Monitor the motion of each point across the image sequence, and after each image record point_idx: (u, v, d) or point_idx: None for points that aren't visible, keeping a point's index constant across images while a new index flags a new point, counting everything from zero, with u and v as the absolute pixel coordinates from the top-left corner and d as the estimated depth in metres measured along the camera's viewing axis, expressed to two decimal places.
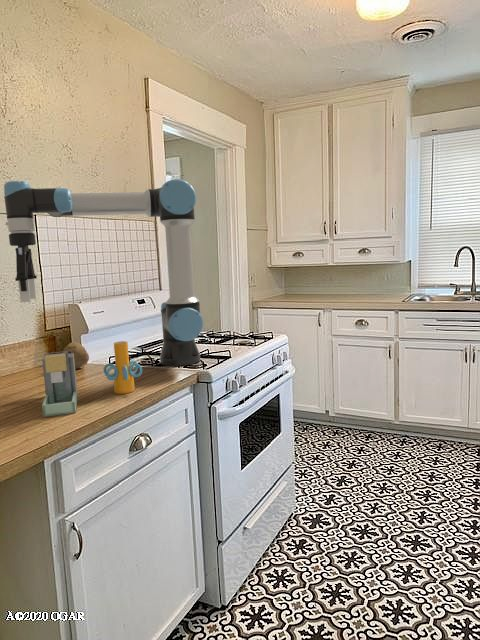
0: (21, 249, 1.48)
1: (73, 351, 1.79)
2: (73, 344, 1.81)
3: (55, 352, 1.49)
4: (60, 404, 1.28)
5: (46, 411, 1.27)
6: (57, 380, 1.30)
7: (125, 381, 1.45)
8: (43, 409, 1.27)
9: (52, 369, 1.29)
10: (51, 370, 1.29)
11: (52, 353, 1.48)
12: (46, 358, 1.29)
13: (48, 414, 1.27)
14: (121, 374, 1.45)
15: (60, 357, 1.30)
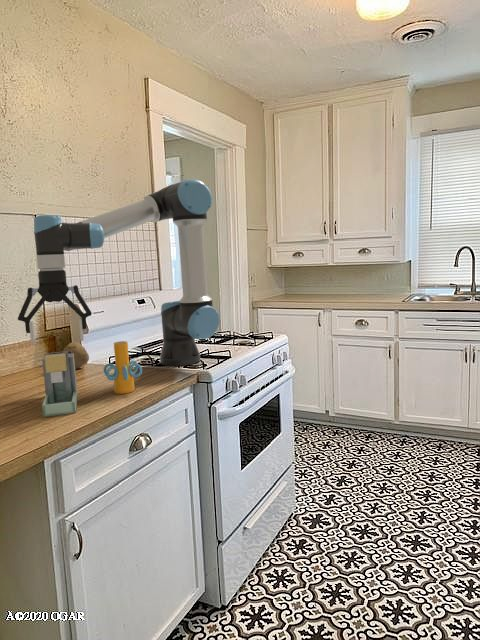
0: (28, 289, 1.41)
1: (73, 351, 1.79)
2: (73, 344, 1.81)
3: (55, 352, 1.49)
4: (60, 404, 1.28)
5: (46, 411, 1.27)
6: (57, 380, 1.30)
7: (125, 381, 1.45)
8: (43, 409, 1.27)
9: (52, 369, 1.29)
10: (51, 370, 1.29)
11: (52, 353, 1.48)
12: (46, 358, 1.29)
13: (48, 414, 1.27)
14: (121, 374, 1.45)
15: (60, 357, 1.30)
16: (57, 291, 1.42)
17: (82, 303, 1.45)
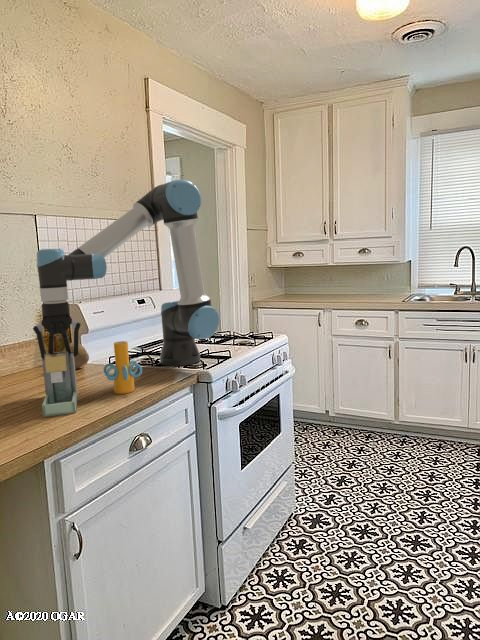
0: None
1: (73, 351, 1.79)
2: (73, 344, 1.81)
3: (55, 352, 1.49)
4: (60, 404, 1.28)
5: (46, 411, 1.27)
6: (57, 380, 1.30)
7: (125, 381, 1.45)
8: (43, 409, 1.27)
9: (52, 369, 1.29)
10: (51, 370, 1.29)
11: None
12: (46, 358, 1.29)
13: (48, 414, 1.27)
14: (121, 374, 1.45)
15: (60, 357, 1.30)
16: (61, 323, 1.43)
17: (75, 341, 1.46)
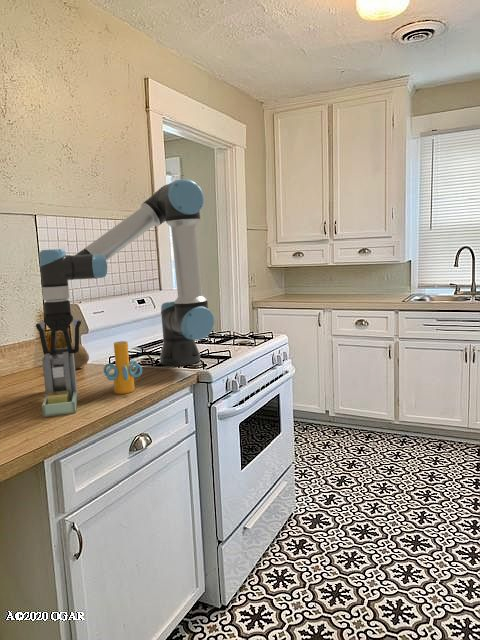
0: (36, 326, 1.49)
1: None
2: (73, 344, 1.81)
3: (57, 349, 1.55)
4: (60, 404, 1.28)
5: (46, 411, 1.27)
6: (59, 375, 1.35)
7: (125, 381, 1.45)
8: (43, 409, 1.27)
9: None
10: None
11: None
12: (48, 396, 1.30)
13: (48, 414, 1.27)
14: (121, 374, 1.45)
15: (62, 395, 1.31)
16: (62, 321, 1.49)
17: (76, 338, 1.52)
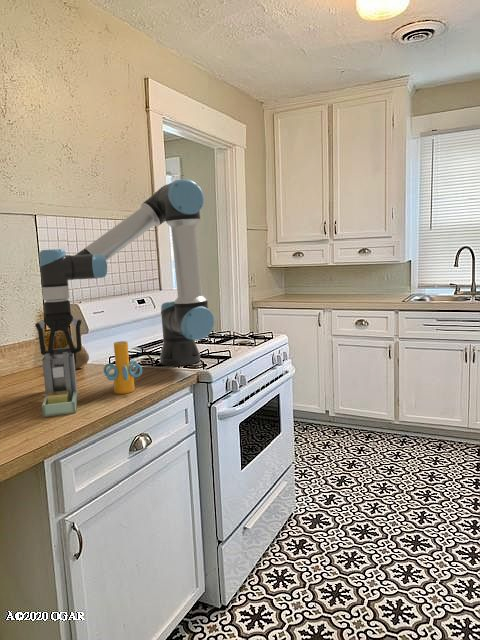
0: (35, 325, 1.49)
1: None
2: None
3: (57, 349, 1.55)
4: (60, 404, 1.28)
5: (46, 411, 1.27)
6: (59, 375, 1.35)
7: (125, 381, 1.45)
8: (43, 409, 1.27)
9: None
10: None
11: (54, 350, 1.54)
12: (48, 396, 1.30)
13: (48, 414, 1.27)
14: (121, 374, 1.45)
15: (62, 395, 1.31)
16: (62, 321, 1.49)
17: (77, 337, 1.52)
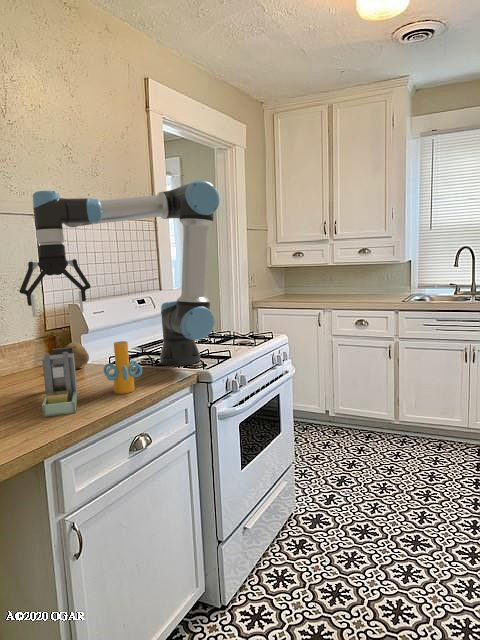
0: None
1: (73, 351, 1.79)
2: (73, 344, 1.81)
3: (57, 349, 1.55)
4: (60, 404, 1.28)
5: (46, 411, 1.27)
6: (59, 375, 1.35)
7: (125, 381, 1.45)
8: (43, 409, 1.27)
9: None
10: None
11: (54, 350, 1.54)
12: (48, 396, 1.30)
13: (48, 414, 1.27)
14: (121, 374, 1.45)
15: (62, 395, 1.31)
16: (57, 264, 1.47)
17: (81, 276, 1.50)
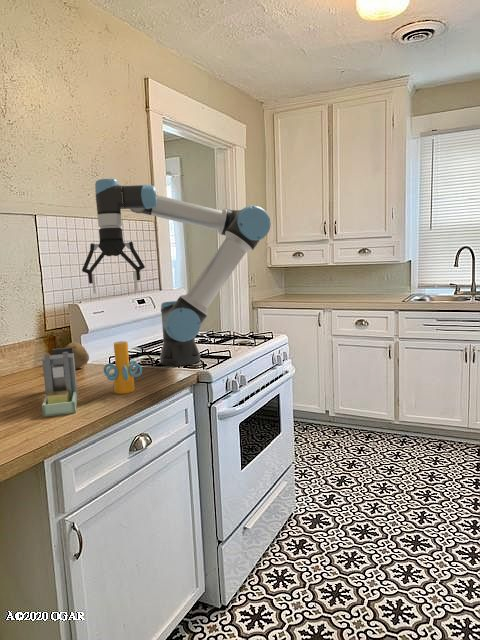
0: (90, 245, 1.61)
1: (73, 351, 1.79)
2: (73, 344, 1.81)
3: (57, 349, 1.55)
4: (60, 404, 1.28)
5: (46, 411, 1.27)
6: (59, 375, 1.35)
7: (125, 381, 1.45)
8: (43, 409, 1.27)
9: None
10: None
11: (54, 350, 1.54)
12: (48, 396, 1.30)
13: (48, 414, 1.27)
14: (121, 374, 1.45)
15: (62, 395, 1.31)
16: (115, 246, 1.62)
17: (137, 257, 1.65)
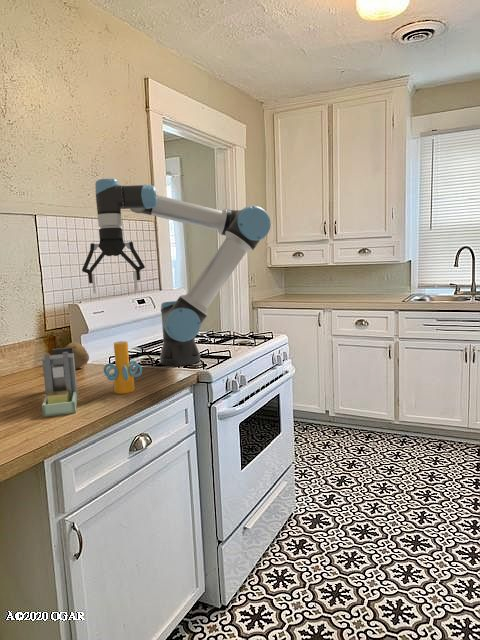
0: None
1: (73, 351, 1.79)
2: (73, 344, 1.81)
3: (57, 349, 1.55)
4: (60, 404, 1.28)
5: (46, 411, 1.27)
6: (59, 375, 1.35)
7: (125, 381, 1.45)
8: (43, 409, 1.27)
9: None
10: None
11: (54, 350, 1.54)
12: (48, 396, 1.30)
13: (48, 414, 1.27)
14: (121, 374, 1.45)
15: (62, 395, 1.31)
16: (116, 246, 1.62)
17: (137, 257, 1.65)
